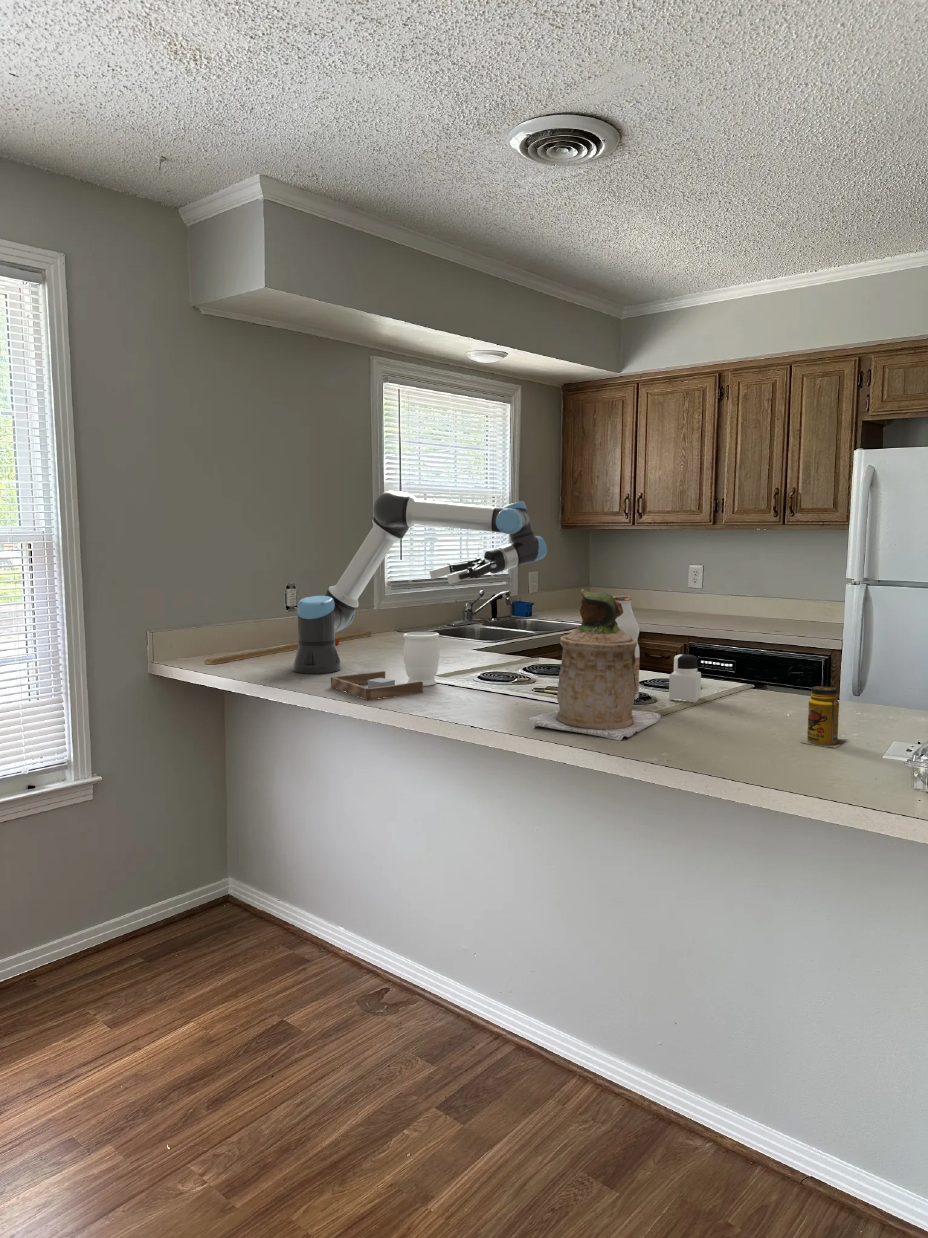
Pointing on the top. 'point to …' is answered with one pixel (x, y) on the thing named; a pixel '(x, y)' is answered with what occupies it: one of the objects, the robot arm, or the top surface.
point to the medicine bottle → (685, 679)
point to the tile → (380, 682)
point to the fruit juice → (629, 630)
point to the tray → (351, 681)
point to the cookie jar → (597, 676)
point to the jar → (421, 657)
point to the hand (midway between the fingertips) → (439, 577)
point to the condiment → (823, 718)
